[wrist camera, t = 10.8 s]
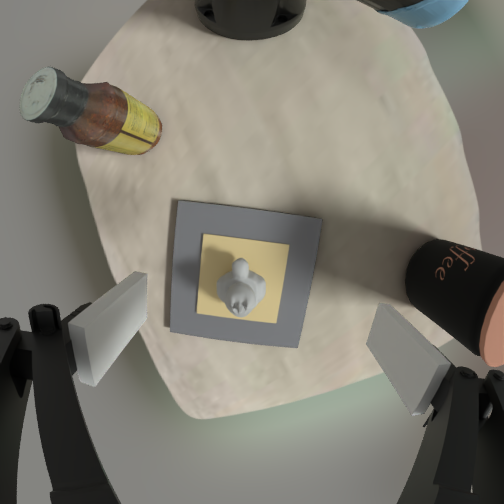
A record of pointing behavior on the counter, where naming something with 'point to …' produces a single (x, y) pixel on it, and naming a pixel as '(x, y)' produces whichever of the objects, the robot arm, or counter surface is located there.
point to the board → (259, 260)
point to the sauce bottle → (90, 113)
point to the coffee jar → (461, 295)
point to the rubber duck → (241, 288)
